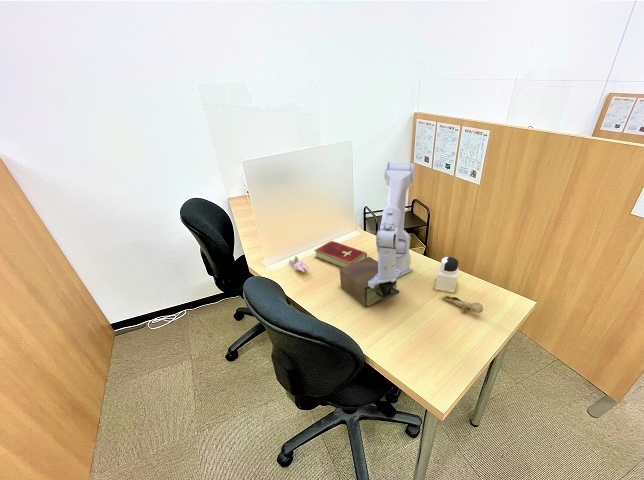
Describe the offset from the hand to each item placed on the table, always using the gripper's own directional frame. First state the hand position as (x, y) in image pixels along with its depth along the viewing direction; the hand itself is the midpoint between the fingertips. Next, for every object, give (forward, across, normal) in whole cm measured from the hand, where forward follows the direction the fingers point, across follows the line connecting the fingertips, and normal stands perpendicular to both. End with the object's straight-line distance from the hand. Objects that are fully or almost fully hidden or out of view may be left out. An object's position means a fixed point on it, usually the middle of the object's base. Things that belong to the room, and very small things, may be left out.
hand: (385, 296), depth 103 cm
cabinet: (+3, 0, +11) cm, 12 cm away
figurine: (+4, +19, -19) cm, 27 cm away
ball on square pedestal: (+3, +25, -7) cm, 26 cm away
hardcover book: (+3, +6, +38) cm, 38 cm away
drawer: (+2, 0, +7) cm, 7 cm away
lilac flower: (+3, -13, +42) cm, 44 cm away
